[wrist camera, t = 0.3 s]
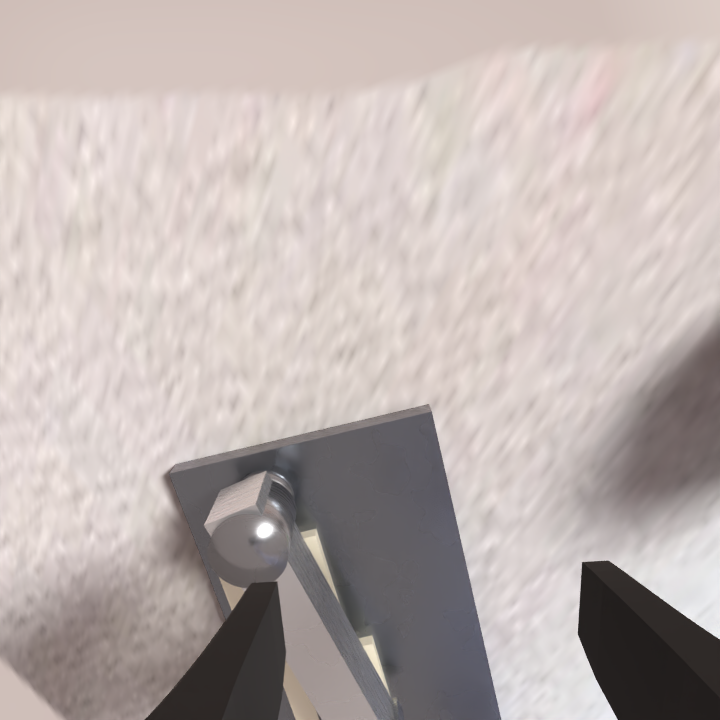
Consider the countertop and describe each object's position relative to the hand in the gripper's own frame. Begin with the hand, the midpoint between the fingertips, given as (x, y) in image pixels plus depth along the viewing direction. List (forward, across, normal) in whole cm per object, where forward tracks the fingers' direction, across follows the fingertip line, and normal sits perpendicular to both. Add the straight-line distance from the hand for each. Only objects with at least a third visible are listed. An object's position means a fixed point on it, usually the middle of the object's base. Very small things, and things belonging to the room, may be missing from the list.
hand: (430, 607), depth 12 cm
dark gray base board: (+10, +2, +9) cm, 13 cm away
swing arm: (+8, +4, +7) cm, 11 cm away
